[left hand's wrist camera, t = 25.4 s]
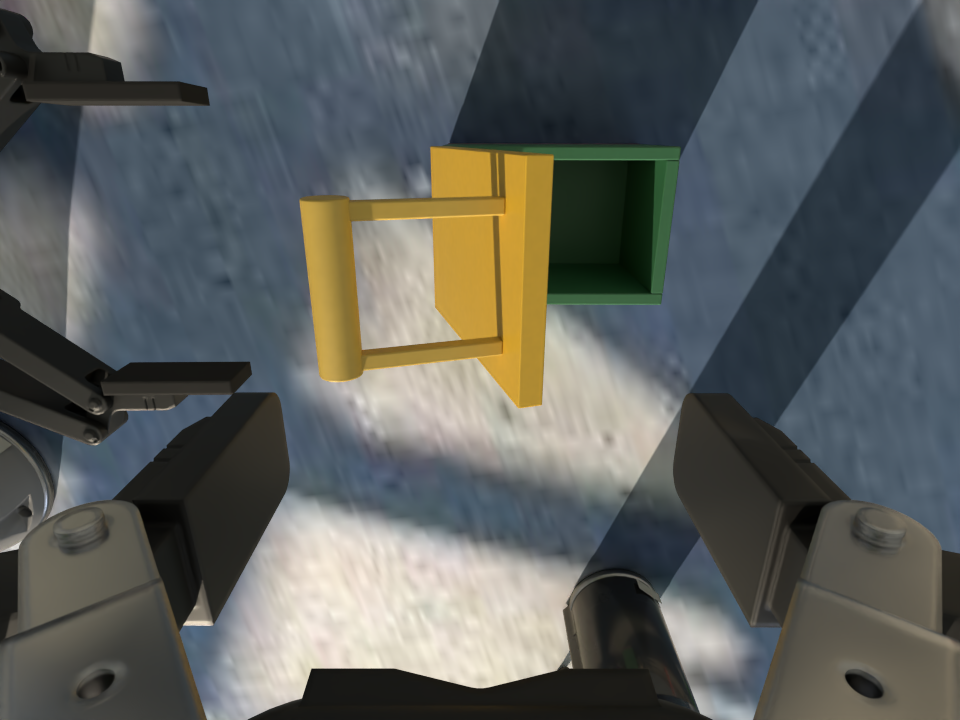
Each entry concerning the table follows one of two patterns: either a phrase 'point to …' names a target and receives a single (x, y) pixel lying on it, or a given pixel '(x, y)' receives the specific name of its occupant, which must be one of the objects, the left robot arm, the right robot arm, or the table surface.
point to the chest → (607, 220)
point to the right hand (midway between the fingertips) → (221, 248)
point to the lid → (448, 268)
